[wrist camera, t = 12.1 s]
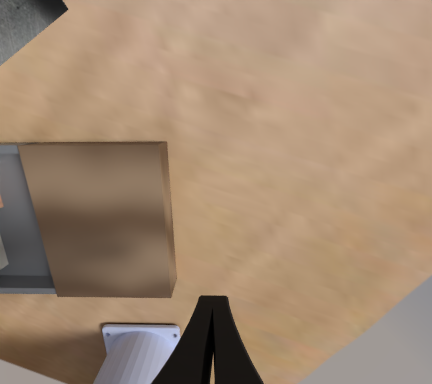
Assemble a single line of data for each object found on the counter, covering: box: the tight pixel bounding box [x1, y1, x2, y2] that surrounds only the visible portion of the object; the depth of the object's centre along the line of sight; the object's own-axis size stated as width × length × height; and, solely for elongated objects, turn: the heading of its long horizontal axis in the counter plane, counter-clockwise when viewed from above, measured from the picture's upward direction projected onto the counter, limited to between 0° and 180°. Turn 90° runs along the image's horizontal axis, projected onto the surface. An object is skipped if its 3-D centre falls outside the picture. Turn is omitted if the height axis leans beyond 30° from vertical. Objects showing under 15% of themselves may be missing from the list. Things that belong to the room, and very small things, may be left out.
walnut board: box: [18, 142, 177, 298], centre depth 19 cm, size 13×10×2 cm
